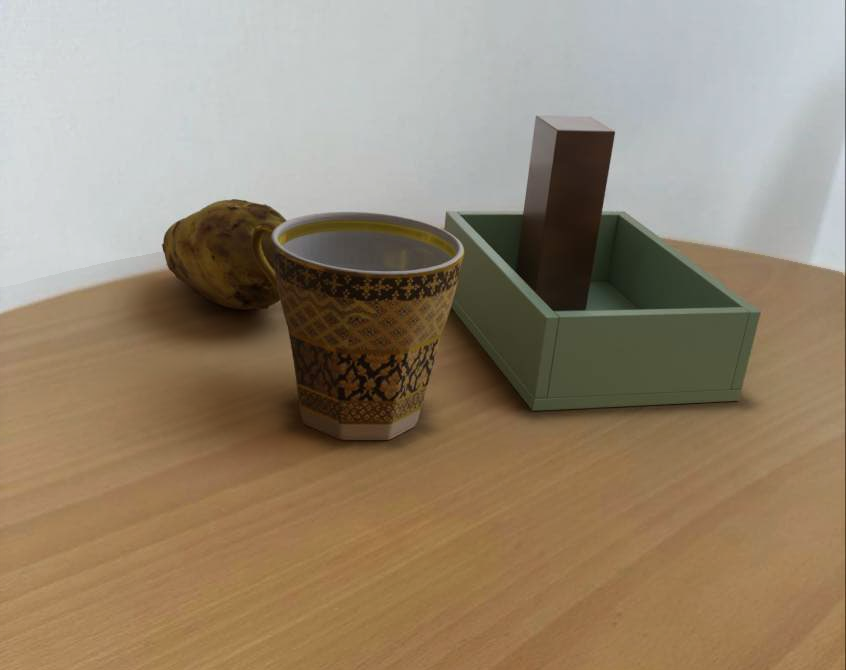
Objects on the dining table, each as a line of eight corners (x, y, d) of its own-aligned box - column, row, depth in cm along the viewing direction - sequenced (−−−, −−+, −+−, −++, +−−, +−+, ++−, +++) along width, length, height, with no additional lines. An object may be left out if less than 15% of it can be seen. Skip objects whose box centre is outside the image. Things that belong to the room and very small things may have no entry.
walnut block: (564, 289, 83) (591, 116, 77) (586, 310, 80) (615, 131, 73) (512, 290, 82) (535, 115, 75) (532, 311, 79) (557, 129, 72)
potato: (280, 276, 83) (282, 163, 78) (307, 348, 72) (311, 221, 68) (162, 276, 81) (157, 160, 76) (171, 350, 70) (167, 219, 66)
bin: (611, 287, 86) (624, 211, 83) (739, 401, 71) (761, 311, 68) (438, 291, 83) (445, 210, 80) (532, 411, 67) (546, 317, 64)
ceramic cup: (480, 415, 66) (501, 244, 61) (372, 476, 59) (385, 288, 54) (308, 349, 72) (313, 188, 67) (191, 397, 65) (187, 221, 60)
